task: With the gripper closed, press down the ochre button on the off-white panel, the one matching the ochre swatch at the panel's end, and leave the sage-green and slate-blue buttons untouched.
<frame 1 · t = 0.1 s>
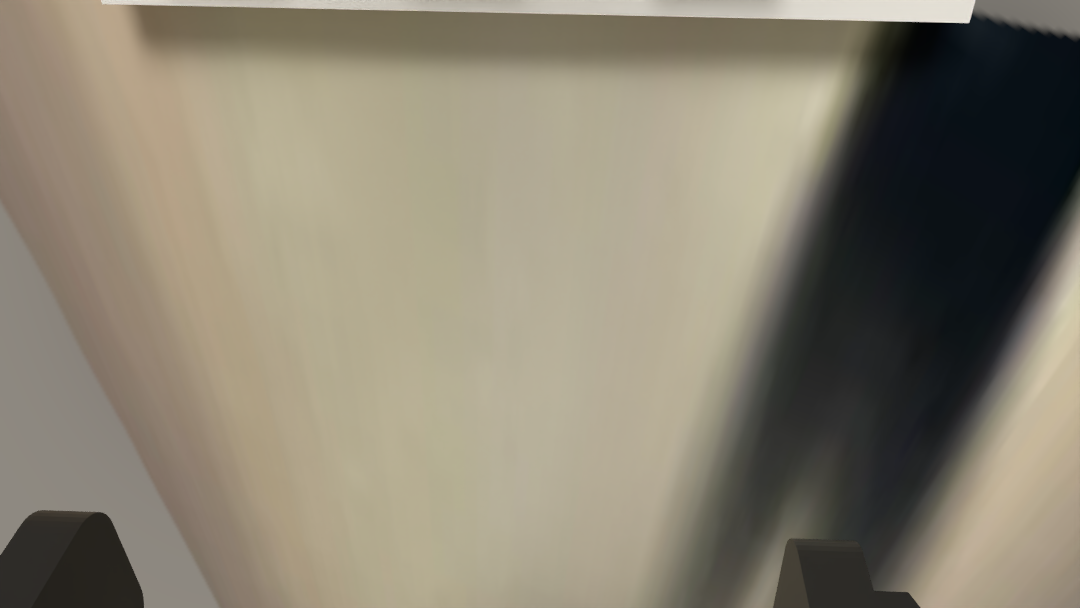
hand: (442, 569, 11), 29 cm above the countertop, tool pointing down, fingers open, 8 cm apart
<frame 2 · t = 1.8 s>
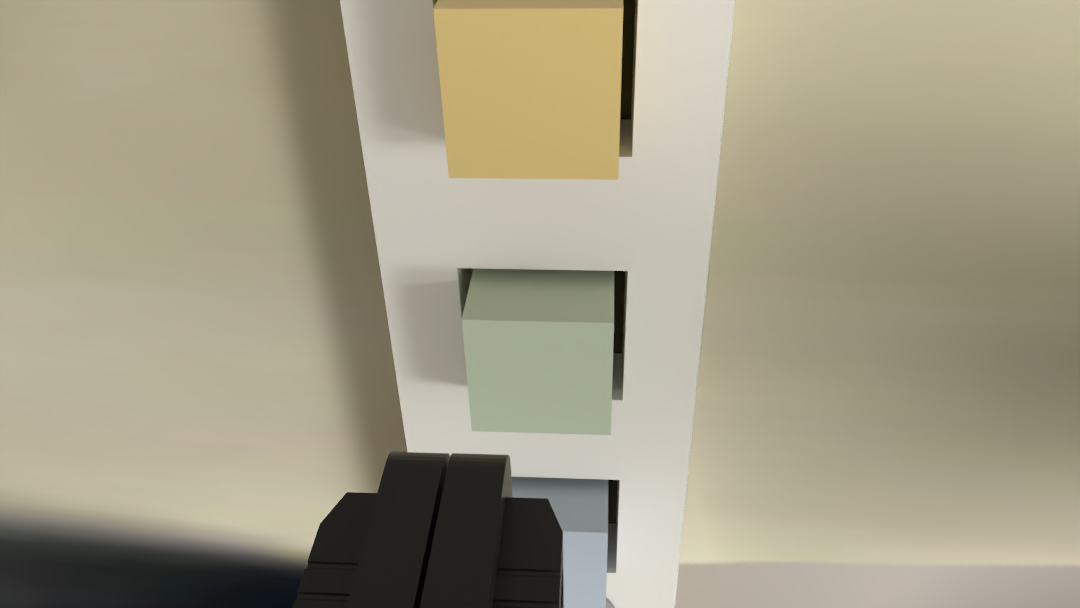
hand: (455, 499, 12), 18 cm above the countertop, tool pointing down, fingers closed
button panel: (549, 338, 33), on the countertop
slate button: (547, 538, 34), point 3 cm above the countertop, slide at 0.0 cm
sage button: (542, 348, 29), point 3 cm above the countertop, slide at 0.0 cm
ochre button: (534, 75, 24), point 3 cm above the countertop, slide at 0.0 cm
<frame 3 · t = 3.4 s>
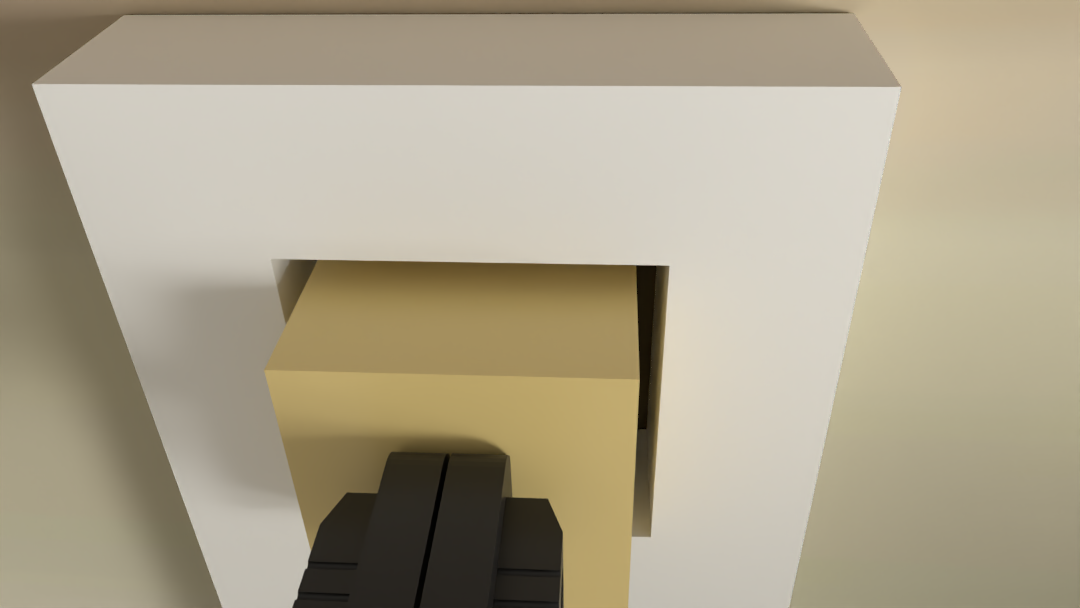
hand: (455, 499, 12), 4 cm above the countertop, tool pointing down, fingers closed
ochre button: (477, 425, 13), point 3 cm above the countertop, slide at 0.3 cm, touching gripper
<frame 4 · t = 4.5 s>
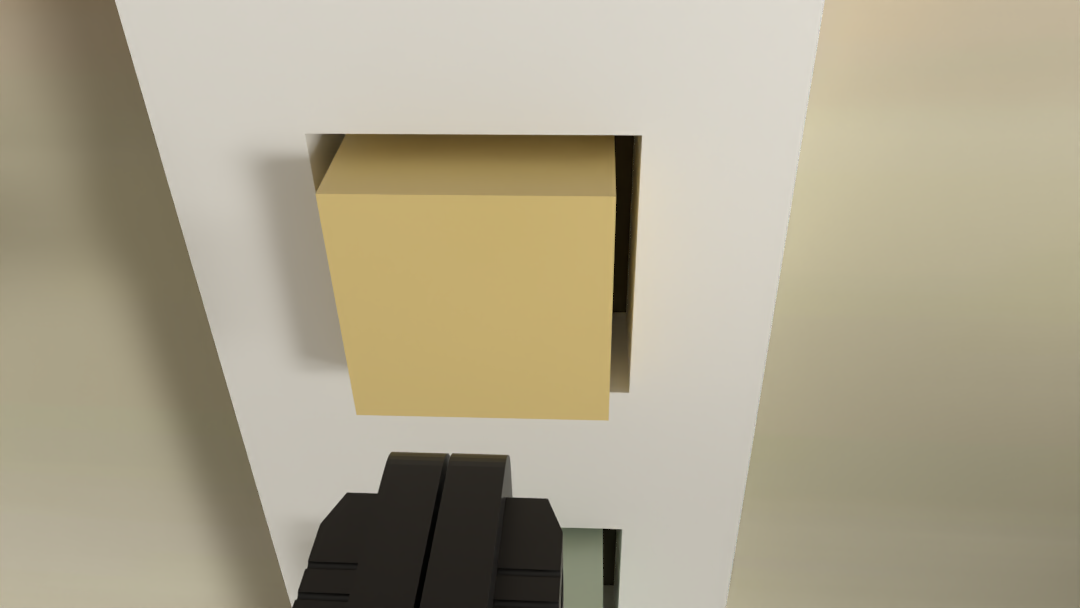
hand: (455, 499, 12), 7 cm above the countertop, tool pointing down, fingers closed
button panel: (515, 567, 24), on the countertop
ochre button: (483, 264, 16), point 2 cm above the countertop, slide at 0.9 cm
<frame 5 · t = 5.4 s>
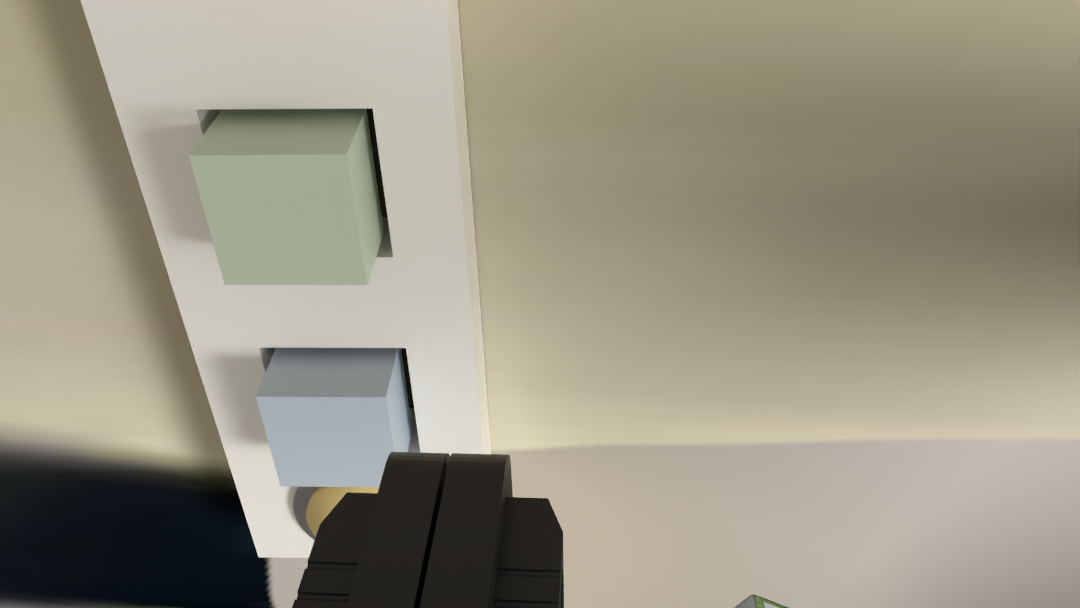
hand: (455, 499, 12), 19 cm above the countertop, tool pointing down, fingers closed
button panel: (327, 202, 31), on the countertop
slate button: (339, 413, 33), point 3 cm above the countertop, slide at 0.0 cm
sage button: (294, 197, 28), point 3 cm above the countertop, slide at 0.0 cm
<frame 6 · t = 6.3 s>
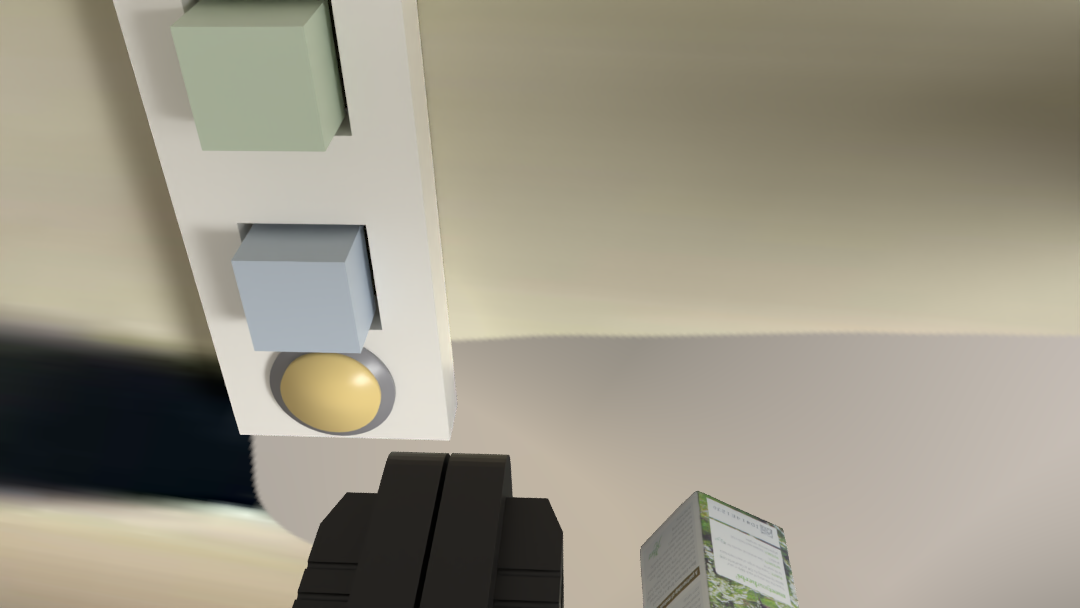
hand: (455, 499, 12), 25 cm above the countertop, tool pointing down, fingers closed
button panel: (298, 93, 36), on the countertop
syrup box: (710, 532, 49), on the countertop
slate button: (308, 286, 37), point 3 cm above the countertop, slide at 0.0 cm
sage button: (264, 74, 32), point 3 cm above the countertop, slide at 0.0 cm
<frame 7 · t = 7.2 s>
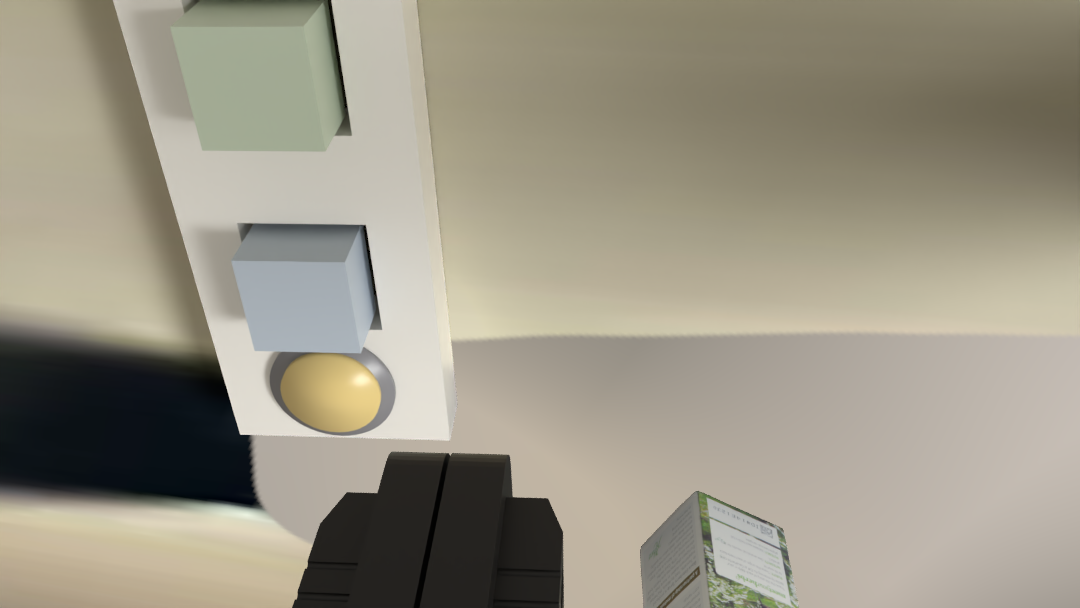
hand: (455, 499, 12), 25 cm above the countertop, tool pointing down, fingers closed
button panel: (298, 93, 36), on the countertop
syrup box: (710, 532, 49), on the countertop
slate button: (308, 286, 37), point 3 cm above the countertop, slide at 0.0 cm
sage button: (264, 74, 32), point 3 cm above the countertop, slide at 0.0 cm
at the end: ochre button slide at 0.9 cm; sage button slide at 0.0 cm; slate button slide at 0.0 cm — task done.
